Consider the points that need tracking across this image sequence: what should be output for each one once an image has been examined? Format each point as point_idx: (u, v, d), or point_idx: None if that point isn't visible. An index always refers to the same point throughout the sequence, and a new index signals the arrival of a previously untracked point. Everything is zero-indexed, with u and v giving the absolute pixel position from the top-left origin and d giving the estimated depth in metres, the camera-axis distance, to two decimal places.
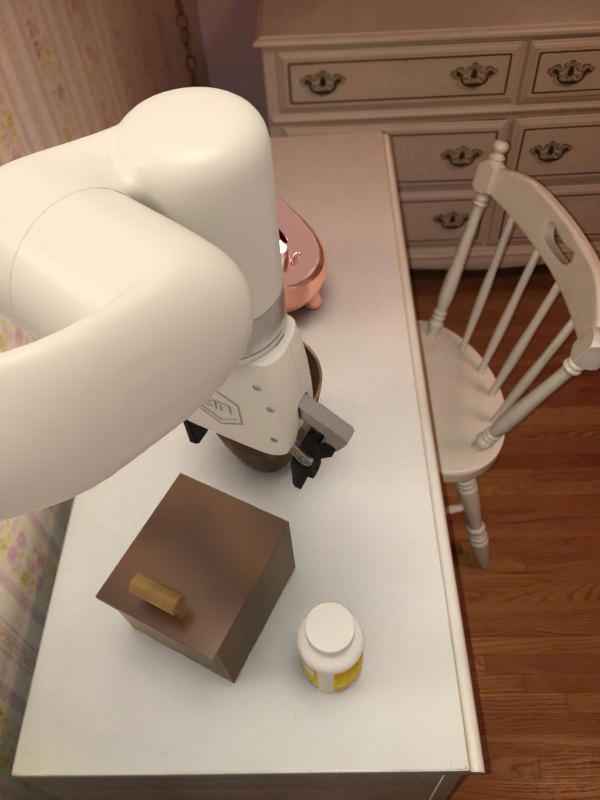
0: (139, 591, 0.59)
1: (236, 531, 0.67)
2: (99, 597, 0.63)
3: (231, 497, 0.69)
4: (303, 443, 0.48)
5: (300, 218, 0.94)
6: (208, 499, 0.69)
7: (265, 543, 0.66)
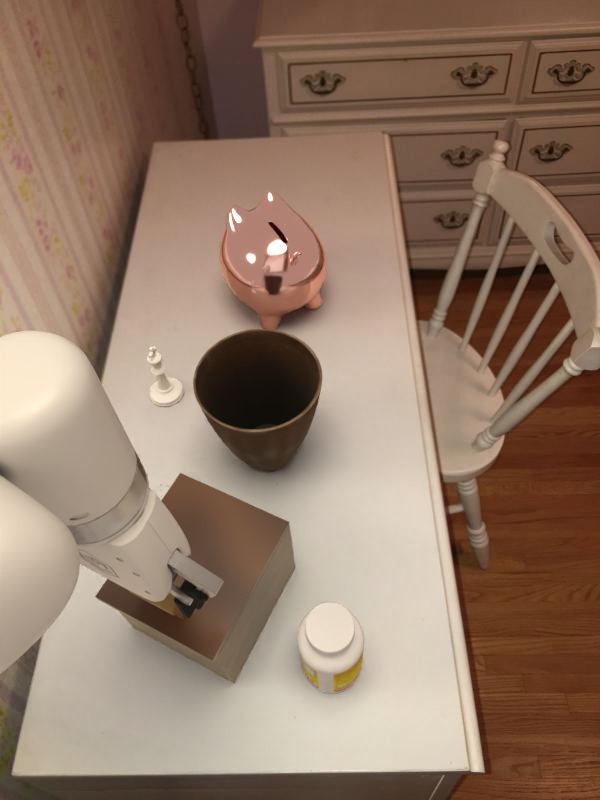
0: None
1: (236, 531, 0.67)
2: (99, 597, 0.63)
3: (231, 497, 0.69)
4: (184, 583, 0.51)
5: (300, 218, 0.94)
6: (208, 499, 0.69)
7: (265, 543, 0.66)
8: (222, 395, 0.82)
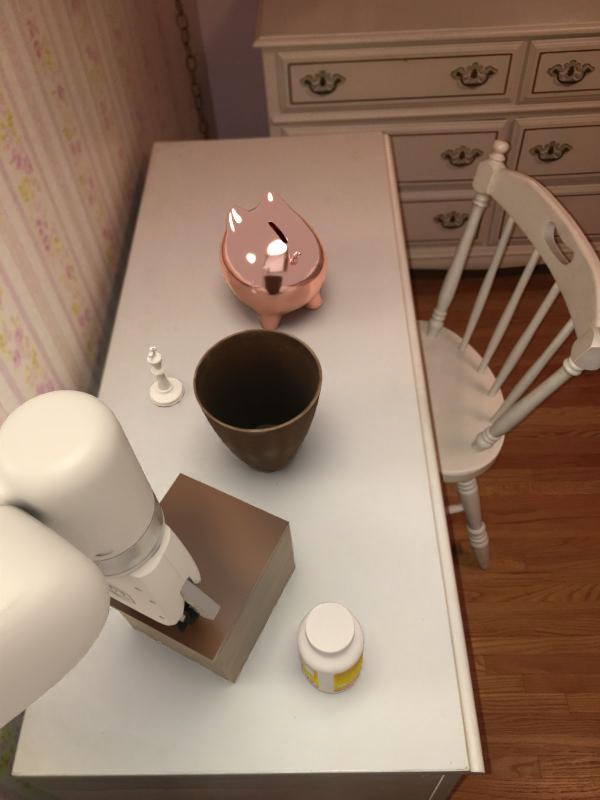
0: None
1: (236, 531, 0.67)
2: None
3: (231, 497, 0.69)
4: None
5: (300, 218, 0.94)
6: (208, 499, 0.69)
7: (265, 543, 0.66)
8: (222, 395, 0.82)
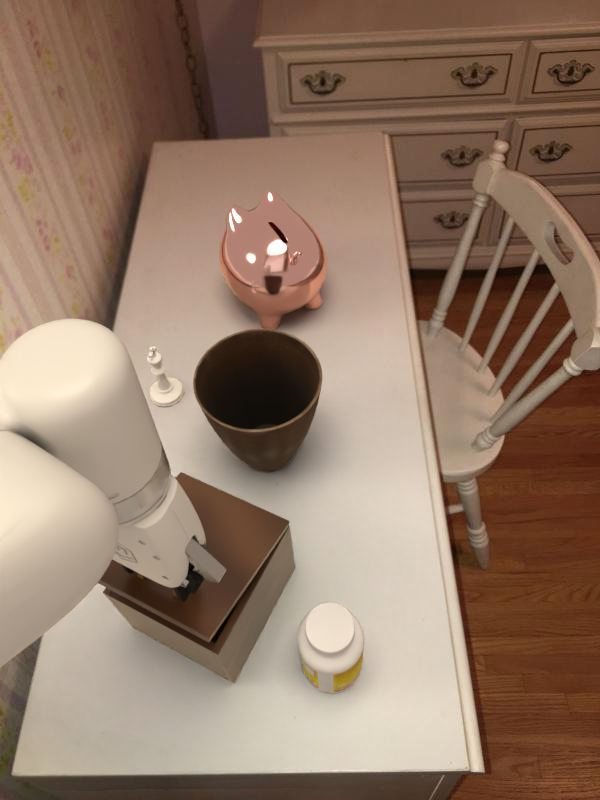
0: None
1: (236, 525, 0.66)
2: None
3: (232, 496, 0.69)
4: None
5: (300, 218, 0.94)
6: (208, 496, 0.69)
7: (265, 537, 0.65)
8: (222, 395, 0.82)
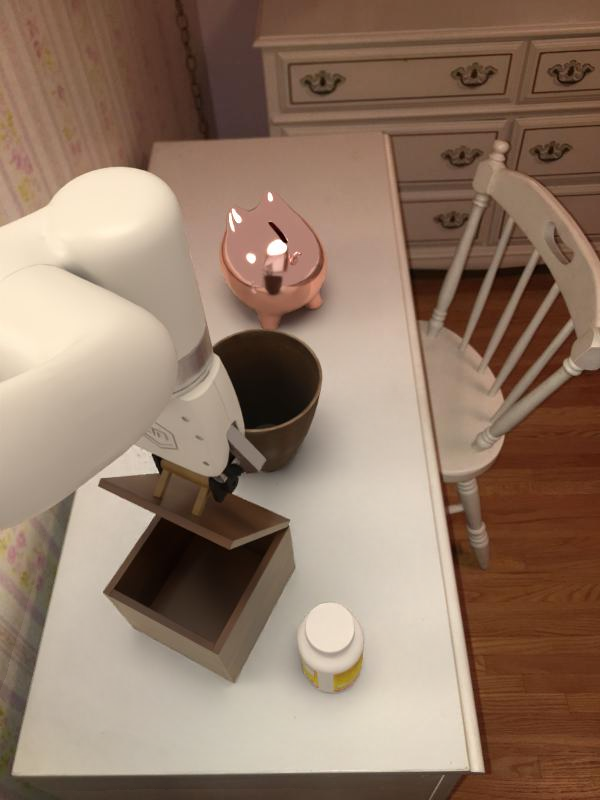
0: None
1: (242, 506, 0.65)
2: (105, 480, 0.57)
3: (233, 494, 0.69)
4: None
5: (300, 218, 0.94)
6: None
7: (271, 519, 0.65)
8: None
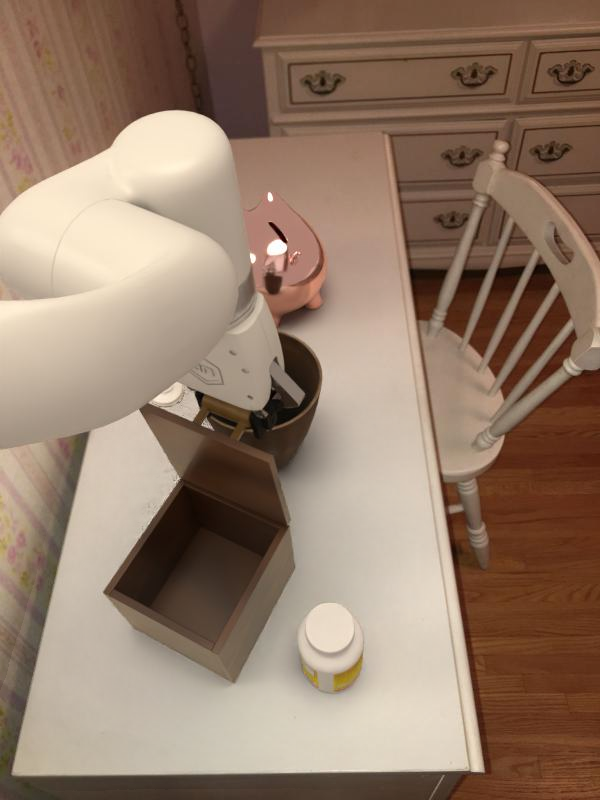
0: None
1: None
2: None
3: None
4: None
5: (300, 218, 0.94)
6: None
7: None
8: None
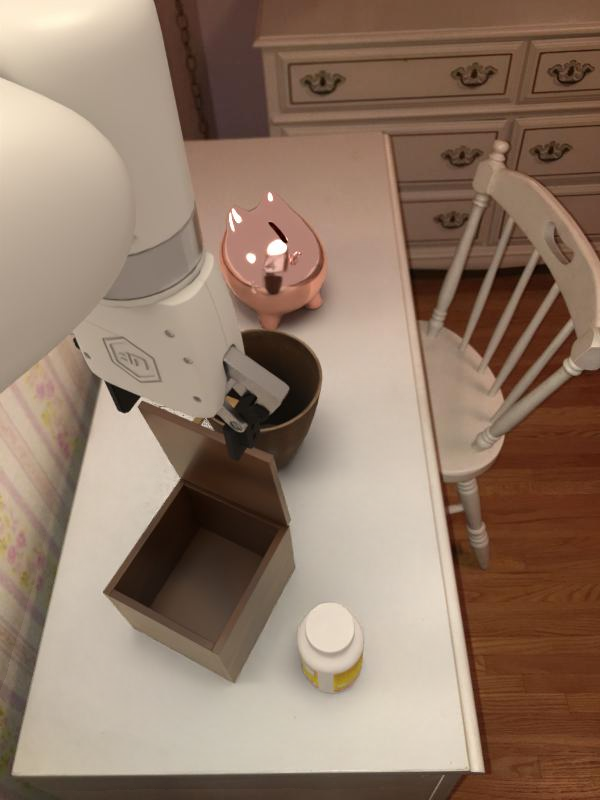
0: None
1: None
2: (146, 402, 0.58)
3: None
4: (236, 407, 0.42)
5: (300, 218, 0.94)
6: None
7: None
8: None
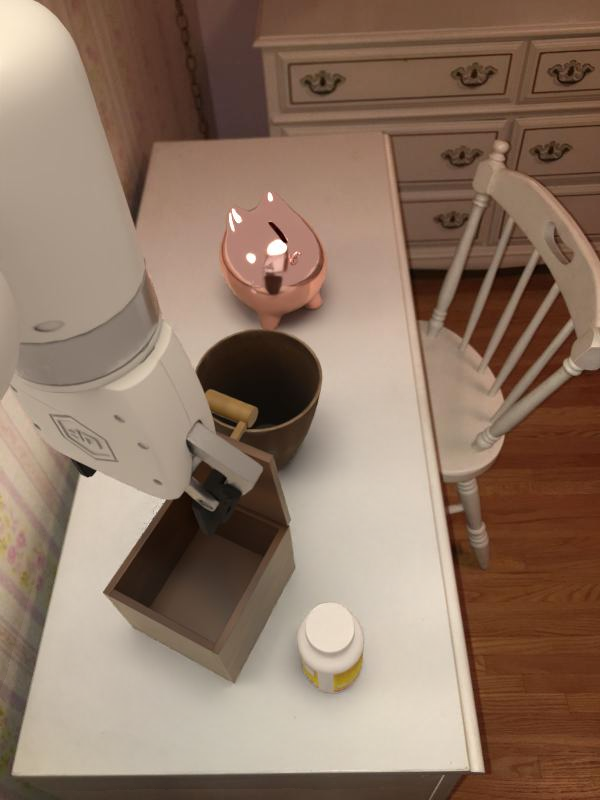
0: (220, 393, 0.60)
1: None
2: None
3: None
4: (207, 482, 0.38)
5: (300, 218, 0.94)
6: None
7: None
8: None
